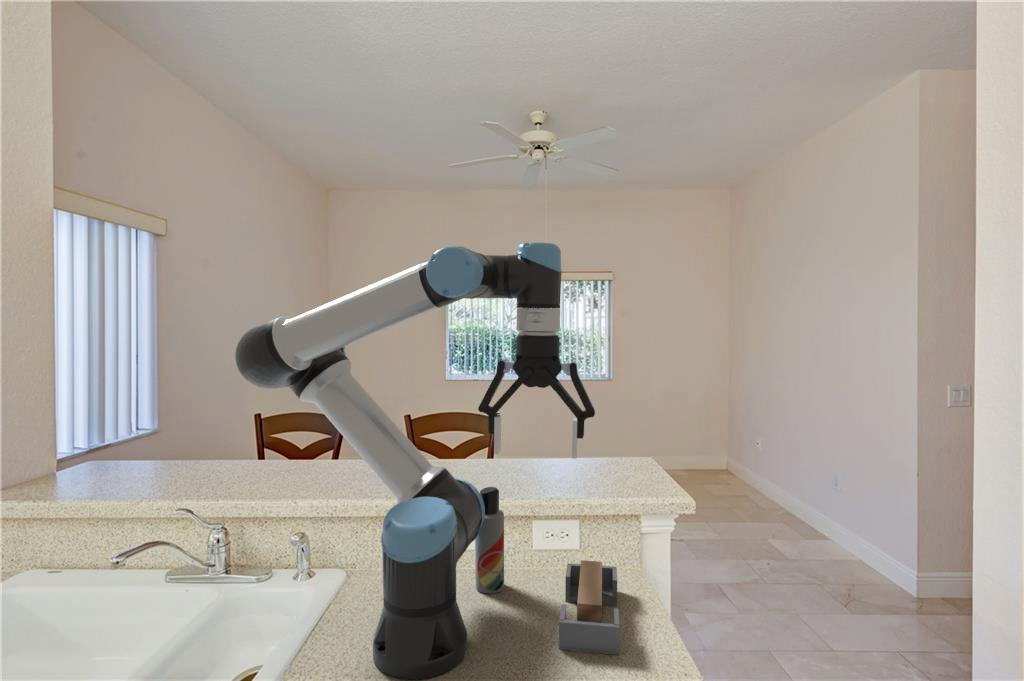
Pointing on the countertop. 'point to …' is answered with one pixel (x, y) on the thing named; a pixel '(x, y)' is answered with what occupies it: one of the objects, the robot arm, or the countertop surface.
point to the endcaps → (590, 633)
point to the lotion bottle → (490, 545)
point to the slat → (590, 592)
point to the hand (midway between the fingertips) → (535, 454)
